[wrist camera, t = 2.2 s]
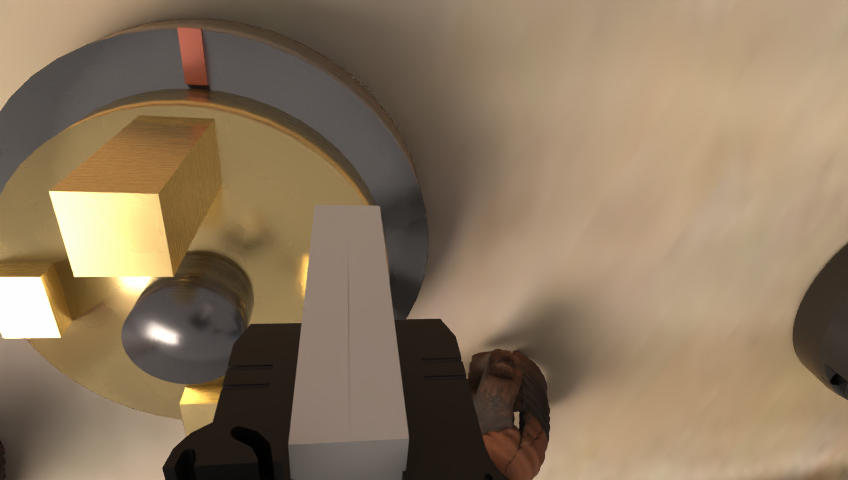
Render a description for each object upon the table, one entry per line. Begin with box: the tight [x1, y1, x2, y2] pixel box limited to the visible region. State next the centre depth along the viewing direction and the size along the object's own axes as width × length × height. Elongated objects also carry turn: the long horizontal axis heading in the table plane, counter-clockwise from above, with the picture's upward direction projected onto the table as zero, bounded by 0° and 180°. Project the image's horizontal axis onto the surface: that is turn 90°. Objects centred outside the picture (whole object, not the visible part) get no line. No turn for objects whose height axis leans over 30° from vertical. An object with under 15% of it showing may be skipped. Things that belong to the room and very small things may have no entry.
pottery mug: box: [467, 349, 550, 480], centre depth 32 cm, size 12×10×8 cm
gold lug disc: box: [0, 89, 390, 436], centre depth 20 cm, size 15×15×9 cm
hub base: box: [0, 19, 428, 384], centre depth 22 cm, size 19×19×9 cm
